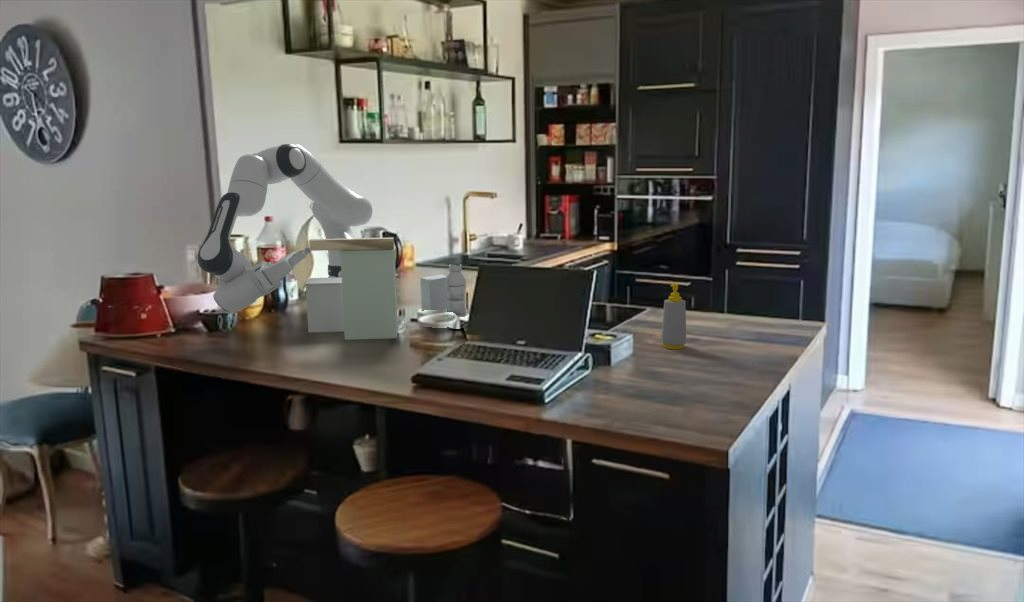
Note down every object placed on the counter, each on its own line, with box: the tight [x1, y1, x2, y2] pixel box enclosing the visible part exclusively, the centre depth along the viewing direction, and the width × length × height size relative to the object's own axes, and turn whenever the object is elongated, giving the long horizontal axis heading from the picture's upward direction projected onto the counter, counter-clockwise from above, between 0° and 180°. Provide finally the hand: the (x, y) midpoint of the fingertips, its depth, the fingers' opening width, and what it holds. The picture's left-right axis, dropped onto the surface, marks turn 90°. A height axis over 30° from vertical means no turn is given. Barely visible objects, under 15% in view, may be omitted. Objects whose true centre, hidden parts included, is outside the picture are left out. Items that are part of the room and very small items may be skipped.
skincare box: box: [419, 273, 448, 312], centre depth 254 cm, size 8×6×15 cm
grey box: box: [304, 277, 344, 334], centre depth 247 cm, size 10×12×15 cm
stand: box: [339, 245, 399, 341], centre depth 236 cm, size 10×16×26 cm, turn 96°
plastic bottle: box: [445, 263, 468, 317], centre depth 244 cm, size 6×7×20 cm
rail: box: [308, 237, 395, 252], centre depth 233 cm, size 3×24×3 cm, turn 96°
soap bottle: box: [660, 281, 687, 350], centre depth 220 cm, size 7×7×18 cm
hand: (307, 251), depth 232 cm, fingers open, 8 cm apart
